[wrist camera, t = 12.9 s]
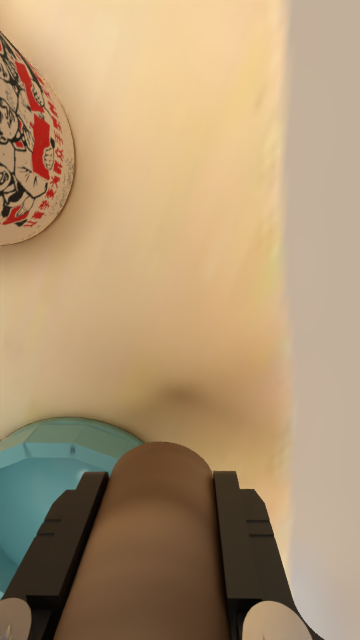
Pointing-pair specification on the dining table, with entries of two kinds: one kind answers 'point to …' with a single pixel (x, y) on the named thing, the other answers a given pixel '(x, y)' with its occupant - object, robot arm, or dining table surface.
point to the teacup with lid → (30, 149)
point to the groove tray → (48, 475)
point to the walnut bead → (151, 554)
